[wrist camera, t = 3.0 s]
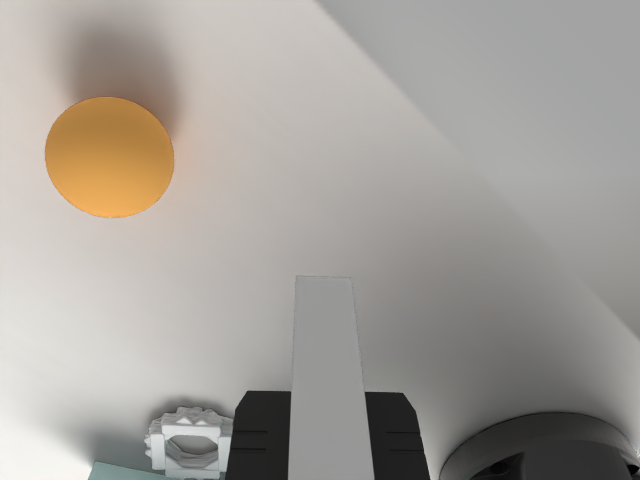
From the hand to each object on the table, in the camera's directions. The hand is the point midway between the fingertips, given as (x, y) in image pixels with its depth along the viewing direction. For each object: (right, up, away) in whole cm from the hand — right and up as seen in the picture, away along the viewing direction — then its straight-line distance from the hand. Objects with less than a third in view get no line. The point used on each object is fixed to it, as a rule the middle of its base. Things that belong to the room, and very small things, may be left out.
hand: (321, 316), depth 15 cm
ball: (-10, +6, +9) cm, 15 cm away
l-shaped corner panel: (-10, -12, +25) cm, 29 cm away
